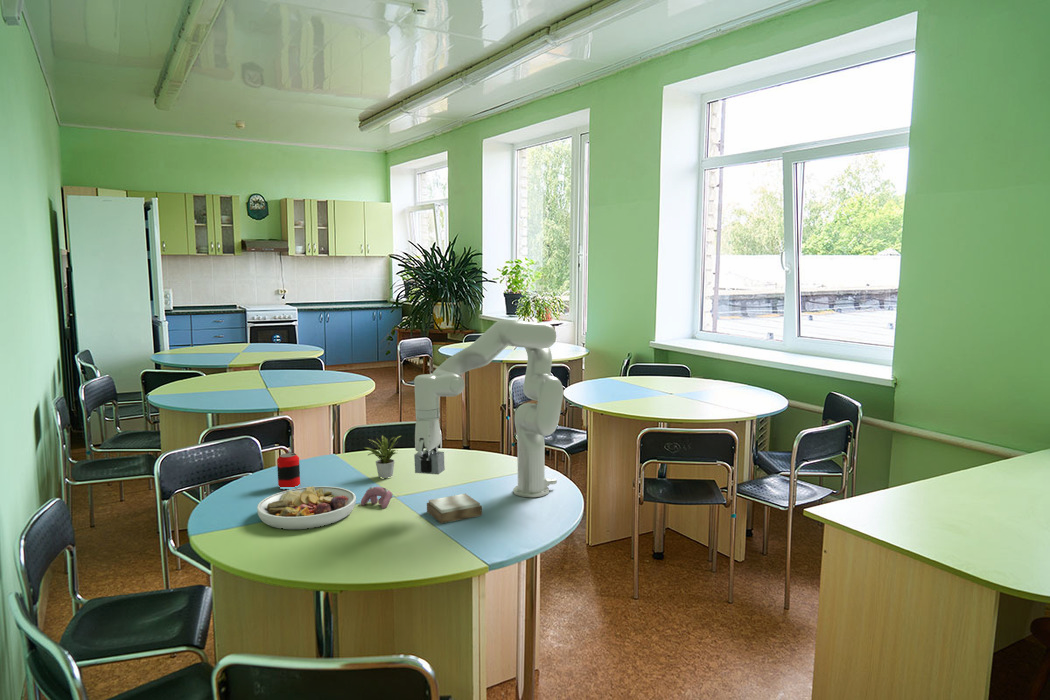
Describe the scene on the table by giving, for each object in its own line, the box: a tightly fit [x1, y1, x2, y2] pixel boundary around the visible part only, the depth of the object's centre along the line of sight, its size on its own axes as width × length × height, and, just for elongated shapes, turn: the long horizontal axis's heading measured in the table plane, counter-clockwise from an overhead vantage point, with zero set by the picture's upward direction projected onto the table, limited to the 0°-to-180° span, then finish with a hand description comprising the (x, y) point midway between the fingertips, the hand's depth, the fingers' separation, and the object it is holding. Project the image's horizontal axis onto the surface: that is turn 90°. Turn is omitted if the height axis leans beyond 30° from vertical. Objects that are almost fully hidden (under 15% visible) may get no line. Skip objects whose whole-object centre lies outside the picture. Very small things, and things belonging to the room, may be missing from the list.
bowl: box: [256, 485, 357, 530], centre depth 213 cm, size 30×30×8 cm
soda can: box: [276, 452, 301, 487], centre depth 242 cm, size 8×8×12 cm
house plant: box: [364, 435, 401, 478], centre depth 254 cm, size 14×14×16 cm
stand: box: [426, 493, 483, 524], centre depth 213 cm, size 14×12×4 cm
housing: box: [413, 449, 446, 475], centre depth 212 cm, size 5×8×7 cm, turn 74°
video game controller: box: [360, 486, 393, 510], centre depth 223 cm, size 10×5×7 cm, turn 66°
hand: (429, 469), depth 212 cm, fingers closed on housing, 5 cm apart
